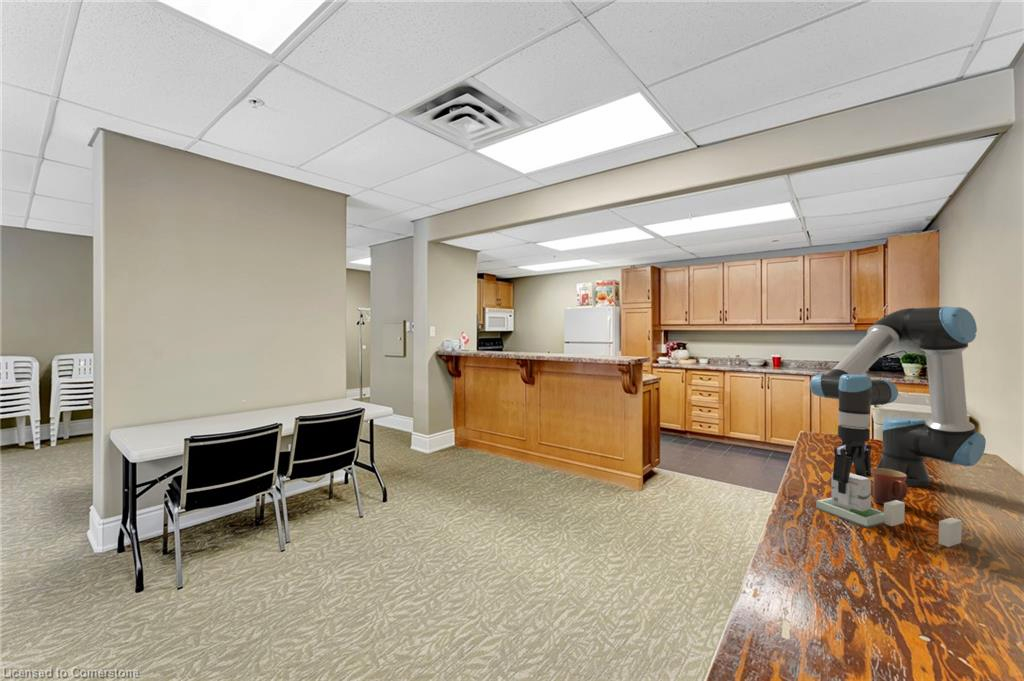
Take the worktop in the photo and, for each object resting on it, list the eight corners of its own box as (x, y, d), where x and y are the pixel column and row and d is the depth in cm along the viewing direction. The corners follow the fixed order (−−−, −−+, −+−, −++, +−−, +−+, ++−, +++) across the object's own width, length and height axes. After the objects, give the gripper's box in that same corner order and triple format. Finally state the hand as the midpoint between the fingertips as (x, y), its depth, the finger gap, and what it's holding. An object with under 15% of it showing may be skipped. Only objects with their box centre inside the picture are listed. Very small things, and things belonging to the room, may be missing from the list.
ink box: (872, 517, 127) (872, 477, 126) (862, 520, 125) (862, 480, 124) (840, 506, 135) (840, 469, 134) (830, 509, 133) (830, 471, 132)
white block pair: (895, 520, 127) (896, 500, 127) (961, 542, 114) (961, 520, 113) (883, 523, 125) (884, 502, 125) (948, 547, 111) (949, 524, 111)
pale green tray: (837, 504, 138) (837, 496, 138) (888, 522, 125) (888, 513, 125) (816, 508, 135) (816, 500, 135) (866, 528, 122) (867, 519, 122)
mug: (864, 497, 144) (865, 467, 144) (894, 499, 142) (895, 469, 142) (887, 512, 132) (888, 479, 132) (920, 515, 131) (922, 481, 130)
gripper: (860, 421, 136) (858, 493, 137) (818, 426, 129) (816, 501, 130) (888, 426, 129) (885, 501, 130) (846, 431, 122) (843, 511, 123)
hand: (851, 501), depth 130 cm, fingers open, 7 cm apart
